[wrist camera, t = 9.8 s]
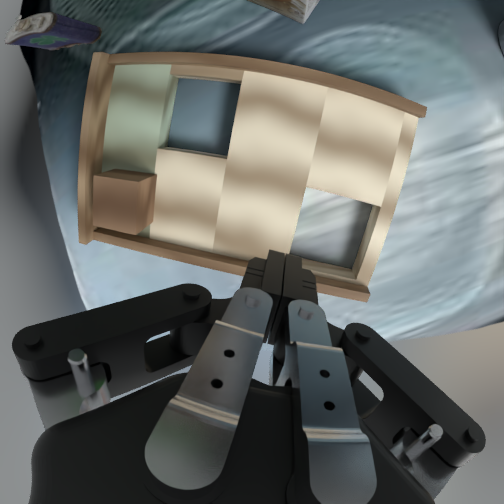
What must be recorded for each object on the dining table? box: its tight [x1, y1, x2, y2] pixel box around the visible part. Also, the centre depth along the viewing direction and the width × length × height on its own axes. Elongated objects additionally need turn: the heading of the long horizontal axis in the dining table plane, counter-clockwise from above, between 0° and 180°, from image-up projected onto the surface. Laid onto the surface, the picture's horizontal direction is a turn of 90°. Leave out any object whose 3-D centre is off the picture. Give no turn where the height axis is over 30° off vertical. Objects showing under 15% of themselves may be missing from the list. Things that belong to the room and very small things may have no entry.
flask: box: [5, 12, 102, 50], centre depth 19 cm, size 9×3×11 cm, turn 78°
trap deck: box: [78, 52, 427, 302], centre depth 26 cm, size 20×31×6 cm, turn 79°
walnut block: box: [93, 169, 157, 235], centre depth 27 cm, size 5×5×4 cm
